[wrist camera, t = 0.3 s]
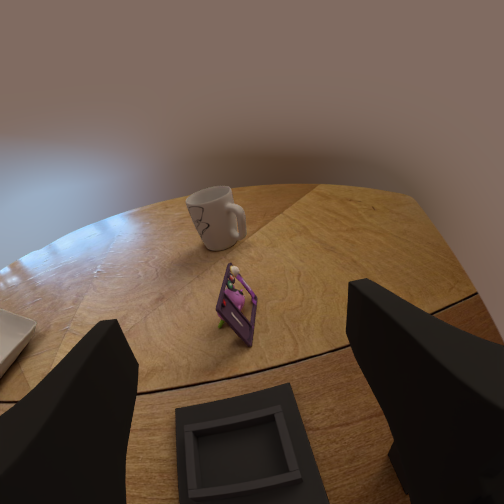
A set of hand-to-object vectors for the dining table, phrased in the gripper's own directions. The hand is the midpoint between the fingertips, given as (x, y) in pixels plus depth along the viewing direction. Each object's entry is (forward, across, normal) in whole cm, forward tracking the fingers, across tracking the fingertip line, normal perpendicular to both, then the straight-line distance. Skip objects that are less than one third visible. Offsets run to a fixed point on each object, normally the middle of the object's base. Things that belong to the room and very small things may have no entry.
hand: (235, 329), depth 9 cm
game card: (+24, +1, +20) cm, 31 cm away
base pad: (+5, +2, +20) cm, 21 cm away
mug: (+46, +2, +18) cm, 50 cm away
